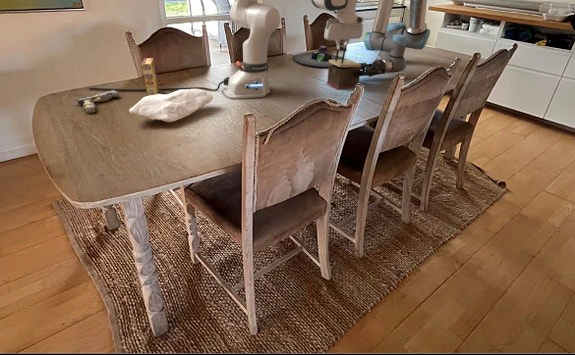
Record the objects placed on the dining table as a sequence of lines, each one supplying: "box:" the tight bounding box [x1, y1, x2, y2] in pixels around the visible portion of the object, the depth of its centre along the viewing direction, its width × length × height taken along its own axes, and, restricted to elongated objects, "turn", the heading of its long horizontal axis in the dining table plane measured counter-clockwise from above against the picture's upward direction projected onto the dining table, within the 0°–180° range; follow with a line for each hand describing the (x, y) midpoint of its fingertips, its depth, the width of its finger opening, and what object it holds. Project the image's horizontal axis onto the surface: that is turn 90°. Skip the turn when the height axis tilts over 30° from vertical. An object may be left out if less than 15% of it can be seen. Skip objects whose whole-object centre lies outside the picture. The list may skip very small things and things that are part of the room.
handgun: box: [76, 90, 120, 114], centre depth 155 cm, size 3×18×15 cm
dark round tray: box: [291, 45, 347, 68], centre depth 225 cm, size 35×35×9 cm
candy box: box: [141, 57, 160, 96], centre depth 163 cm, size 9×4×15 cm, turn 13°
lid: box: [329, 46, 361, 67], centre depth 181 cm, size 13×10×9 cm
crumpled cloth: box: [129, 89, 214, 123], centre depth 147 cm, size 24×35×9 cm
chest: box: [326, 64, 361, 90], centre depth 186 cm, size 13×10×10 cm
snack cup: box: [363, 31, 372, 50], centre depth 257 cm, size 16×10×10 cm
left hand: (341, 48), depth 178 cm, fingers closed, pressing on lid
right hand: (348, 71), depth 186 cm, fingers closed on chest, 10 cm apart
